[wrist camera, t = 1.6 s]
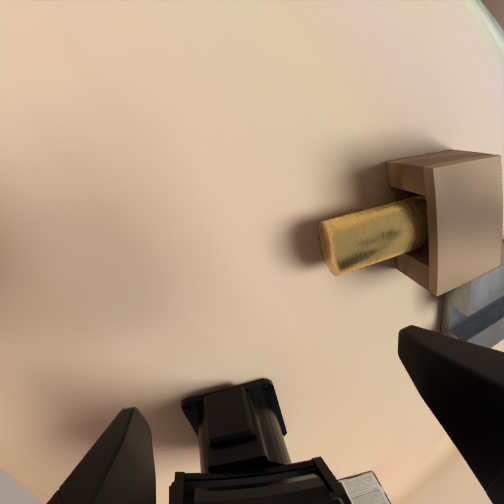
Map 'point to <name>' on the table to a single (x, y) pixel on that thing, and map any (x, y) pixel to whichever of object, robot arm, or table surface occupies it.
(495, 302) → the block
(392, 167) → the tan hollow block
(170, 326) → the table surface
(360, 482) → the candy bar box
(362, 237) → the brass rod
